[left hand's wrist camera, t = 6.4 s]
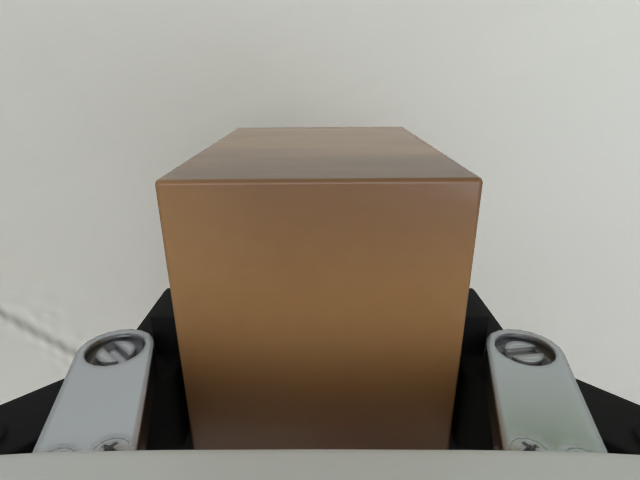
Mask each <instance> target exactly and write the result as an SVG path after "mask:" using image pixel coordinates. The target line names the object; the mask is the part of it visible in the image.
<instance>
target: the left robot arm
mask: <svg viewBox="0 0 640 480" xmlns="http://www.w3.org/2000/svg"><path fill="white" fill-rule="evenodd" d="M0 480H640V405H638V404H635V403H633V402H630V401H628V400H626V399H623V398H621V397H618V396H616V395H614V394H611V393H609V392H606V391H604V390H602V389H599V388H597V387H594V386H592V385H590V384H587V383H585V382H582V381H580V380H578V379H575V377H574V375H573V373H572V371H571V368H570V366H569V364H568V361H567V359H566V357H565V355H564V353H563V352H562V350H561V349H560V347H558V346H557V345H556V344H555V343H553V342H552V341H550V340H548V339H546V338H544V337H543V336H540V335H537V334H534V333H531V332H527V331H522V330H513V329H506V330H503V329H502V327H501V326H500V325H499V323H498V322H497V321H496V319H495V318H494V316H493V315H492V314H491V312H490V311H489V310H488V308H487V307H486V306H485V304H484V303H483V301H482V300H481V299H480V297H479V296H478V295H477V293H476V292H475V291H474V290H473V289H472V288H469V293H468V301H467V309H466V317H465V324H464V332H463V340H462V348H461V356H460V364H459V372H458V380H457V387H456V395H455V403H454V411H453V419H452V427H451V435H450V442H449V450H362V449H278V450H194V449H193V442H192V436H191V429H190V422H189V415H188V408H187V401H186V394H185V387H184V380H183V373H182V366H181V359H180V352H179V345H178V338H177V332H176V325H175V318H174V311H173V304H172V297H171V290H170V288H168V289H166V290H165V292H164V293H163V294H162V296H161V297H160V298H159V300H158V301H157V302H156V304H155V305H154V307H153V308H152V309H151V311H150V312H149V313H148V315H147V316H146V318H145V319H144V320H143V322H142V323H141V324H140V326H139V327H138V328H137V330H134V329H127V330H118V331H113V332H109V333H106V334H103V335H100V336H97V337H96V338H94V339H92V340H90V341H88V342H87V343H85V344H84V345H83V346H82V347H80V349H79V350H78V352H77V353H76V355H75V357H74V359H73V361H72V364H71V366H70V368H69V371H68V373H67V375H66V377H65V379H62V380H60V381H57V382H55V383H53V384H50V385H48V386H45V387H43V388H41V389H38V390H36V391H33V392H31V393H29V394H26V395H24V396H21V397H19V398H17V399H14V400H12V401H9V402H7V403H5V404H2V405H0Z"/></svg>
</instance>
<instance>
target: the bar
mask: <svg viewBox="0 0 640 480" xmlns="http://www.w3.org/2000/svg"><path fill="white" fill-rule="evenodd" d="M482 183H483V182H482V179H481V178H480V177H478V176H477V175H475V174H474V173H472V172H471V171H469V170H467V169H466V168H464V167H463V166H461V165H460V164H458V163H457V162H455V161H454V160H452V159H450V158H449V157H447V156H446V155H444V154H443V153H441V152H440V151H438V150H437V149H435V148H433V147H432V146H430V145H429V144H427V143H426V142H424V141H423V140H421V139H420V138H418V137H417V136H415V135H413V134H412V133H410V132H409V131H407V130H406V129H404V128H402V127H318V128H238V129H236V130H235V131H233V132H232V133H230V134H229V135H227V136H225V137H224V138H222V139H221V140H219V141H218V142H216V143H214V144H213V145H211V146H210V147H208V148H207V149H205V150H204V151H202V152H200V153H199V154H197V155H196V156H194V157H193V158H191V159H189V160H188V161H186V162H185V163H183V164H182V165H180V166H179V167H177V168H175V169H174V170H172V171H171V172H169V173H168V174H166V175H164V176H163V177H161V178H160V179H158V180H157V181H156V184H155V186H156V193H157V200H158V207H159V214H160V221H161V227H162V234H163V241H164V248H165V255H166V262H167V269H168V276H169V283H170V290H171V297H172V304H173V311H174V318H175V325H176V332H177V338H178V345H179V352H180V359H181V366H182V373H183V380H184V387H185V394H186V401H187V408H188V415H189V422H190V429H191V436H192V442H193V449H194V450H278V449H362V450H449V442H450V435H451V427H452V419H453V411H454V403H455V395H456V387H457V380H458V372H459V364H460V356H461V348H462V340H463V332H464V324H465V317H466V309H467V301H468V293H469V285H470V277H471V269H472V262H473V254H474V246H475V238H476V230H477V222H478V214H479V207H480V199H481V191H482Z"/></svg>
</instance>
